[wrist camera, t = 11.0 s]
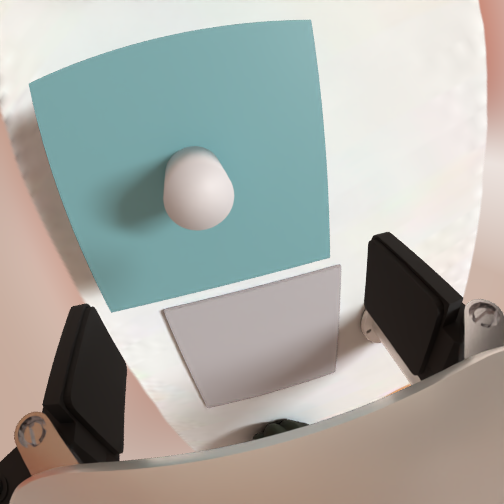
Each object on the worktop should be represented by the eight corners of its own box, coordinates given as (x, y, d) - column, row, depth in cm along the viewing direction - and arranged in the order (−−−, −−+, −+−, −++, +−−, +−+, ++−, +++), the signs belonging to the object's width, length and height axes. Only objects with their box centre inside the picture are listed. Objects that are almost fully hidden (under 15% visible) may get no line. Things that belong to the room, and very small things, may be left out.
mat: (339, 264, 39) (341, 266, 39) (333, 369, 51) (335, 372, 51) (163, 309, 37) (163, 312, 36) (207, 405, 48) (207, 408, 48)
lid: (306, 21, 19) (345, 8, 14) (326, 253, 29) (356, 289, 24) (33, 83, 16) (-6, 87, 11) (112, 306, 27) (105, 354, 22)
